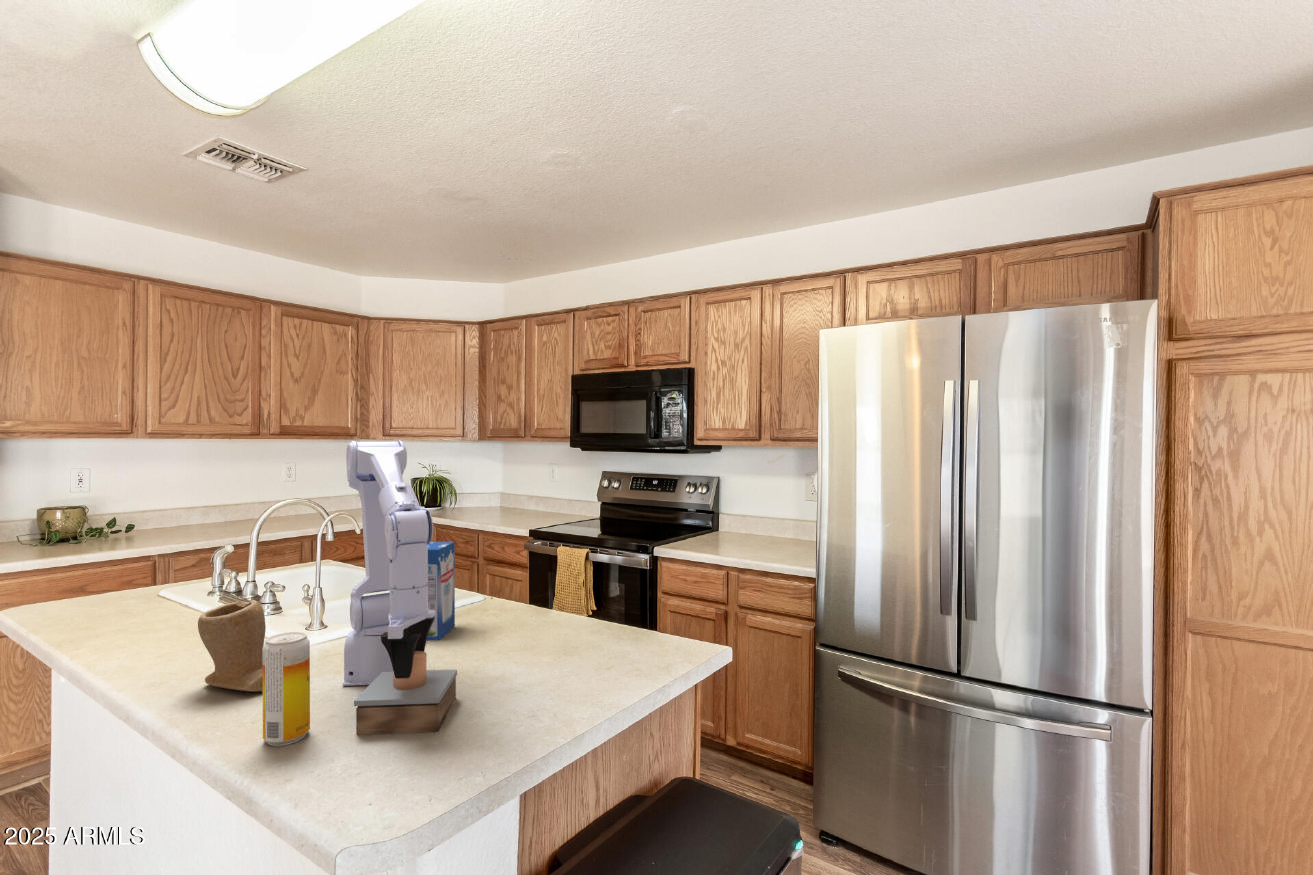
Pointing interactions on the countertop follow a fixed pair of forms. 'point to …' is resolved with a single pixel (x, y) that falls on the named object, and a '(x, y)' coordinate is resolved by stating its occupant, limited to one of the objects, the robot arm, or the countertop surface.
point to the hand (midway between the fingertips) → (409, 669)
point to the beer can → (286, 688)
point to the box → (405, 716)
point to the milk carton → (441, 587)
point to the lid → (388, 695)
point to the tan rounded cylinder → (414, 673)
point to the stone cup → (235, 644)
